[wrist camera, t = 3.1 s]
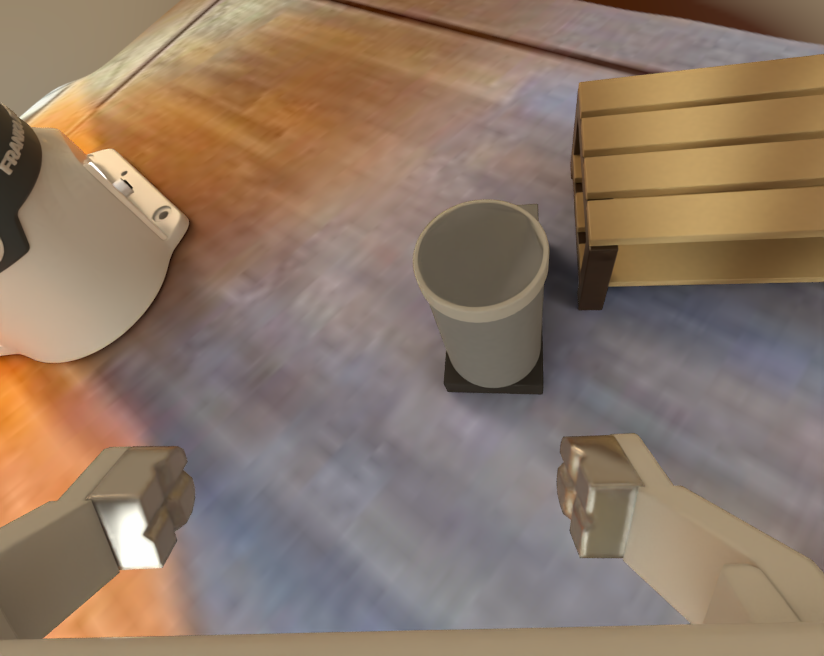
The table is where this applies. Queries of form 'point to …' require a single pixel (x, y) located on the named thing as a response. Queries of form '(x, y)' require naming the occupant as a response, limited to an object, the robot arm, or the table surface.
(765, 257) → the shoe rack
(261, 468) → the table surface
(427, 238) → the grey vase on base
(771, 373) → the table surface
